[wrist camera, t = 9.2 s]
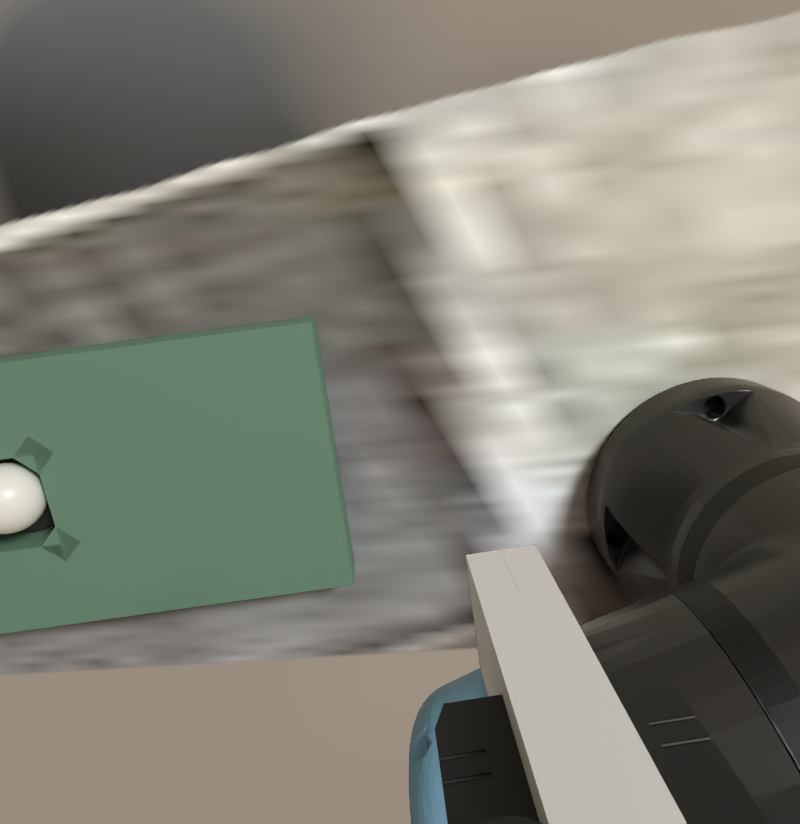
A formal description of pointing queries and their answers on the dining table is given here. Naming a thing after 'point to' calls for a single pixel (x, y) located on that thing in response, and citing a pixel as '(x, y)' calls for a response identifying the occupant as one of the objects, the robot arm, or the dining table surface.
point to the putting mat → (172, 475)
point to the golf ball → (20, 497)
